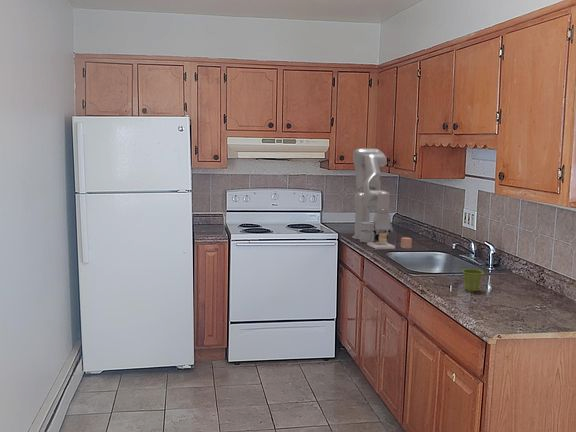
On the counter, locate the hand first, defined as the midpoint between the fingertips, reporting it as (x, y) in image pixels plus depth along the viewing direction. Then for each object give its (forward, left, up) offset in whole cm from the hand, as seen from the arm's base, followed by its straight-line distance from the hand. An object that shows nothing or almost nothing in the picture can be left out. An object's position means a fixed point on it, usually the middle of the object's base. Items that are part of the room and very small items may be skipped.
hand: (381, 240), depth 382 cm
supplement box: (-18, -3, -4) cm, 19 cm away
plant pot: (+108, 0, -4) cm, 108 cm away
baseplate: (0, 0, -4) cm, 4 cm away
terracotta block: (+4, +15, -4) cm, 16 cm away
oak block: (0, 0, -1) cm, 1 cm away
